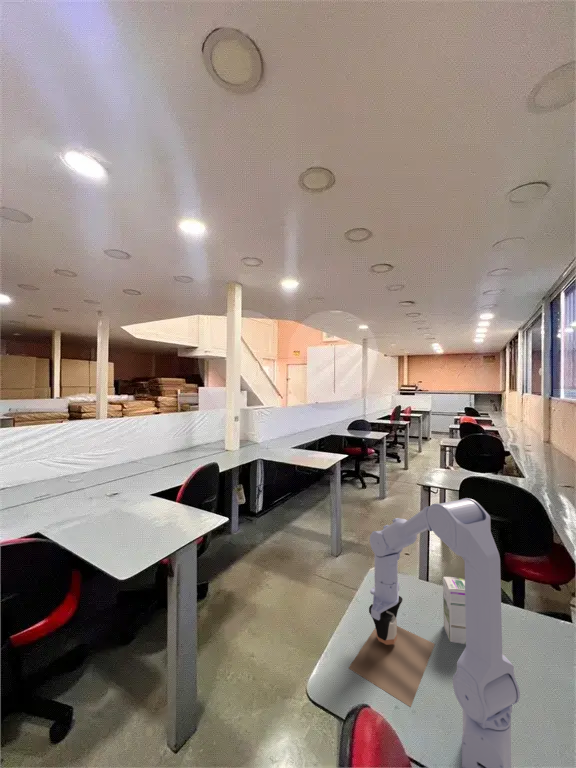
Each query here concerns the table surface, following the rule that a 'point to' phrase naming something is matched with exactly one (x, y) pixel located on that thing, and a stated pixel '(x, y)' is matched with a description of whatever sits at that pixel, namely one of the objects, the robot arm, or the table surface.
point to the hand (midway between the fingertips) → (386, 631)
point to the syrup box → (454, 609)
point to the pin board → (394, 663)
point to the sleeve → (390, 631)
